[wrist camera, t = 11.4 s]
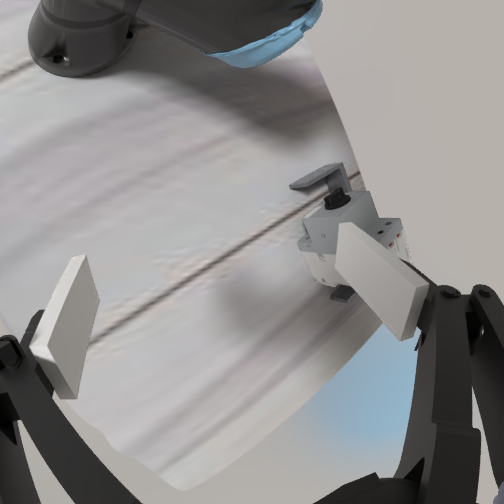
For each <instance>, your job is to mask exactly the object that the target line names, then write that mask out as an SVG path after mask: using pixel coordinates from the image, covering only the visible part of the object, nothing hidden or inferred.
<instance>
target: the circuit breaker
mask: <svg viewBox="0 0 504 504" xmlns="http://www.w3.org/2000/svg"><path fill="white" fill-rule="evenodd" d="M302 220H303V222H304V225H305V227H306V229H307V231H308V234H307V235H305V236H304V237H303V238H302V239H301V240H300V241H298V242H297V244H298V247H299V249H300V251H301V253H302V255H303V257H304V260H305V262H306V264H307V266H308V268H309V271H310V273H311V275H312V277H315V279H316V280H315V281H314V282H315V283H316V284H317V283H318V282H319V283H321V284H322V285H326V286H331V287H336V286H337V285H338V284H342V285H347V286H351V285H350V284H349V283H348V282H347V281H346V280H345V279H344V278H343V277H342V276H341V274H340V273H339V272H338V271H337V270H336V269H335V261H336V251H337V241H338V231H339V223H346V222H352V223H353V224H355V225H356V226H357V227H359V228H360V229H361V230H363V231H364V232H365V233H367V234H368V235H369V236H371V237H372V238H373V239H375V240H376V241H377V242H378V243H380V244H381V245H382V246H384V247H385V248H386V249H387V250H389V251H390V252H391V253H392V254H394V255H395V256H396V257H397V258H399V259H402V260H405V261H407V262H409V263H410V264H412V263H411V262H410V259H411V257H410V252H409V248H408V244H407V241H406V237H405V233H404V230H403V226H402V223H401V219H400V218H379V217H378V214H377V211H376V208H375V205H374V202H373V200H372V197H371V194H370V192H369V191H361V192H358V191H357V190H353V191H351V192H348V193H344V191H343V188H342V187H339V188H337V189H335V190H334V192H332V193H331V194H330V195H328V196H326V197H325V198H324V201H323V202H321V203H320V204H319V206H316V207H315V208H314V209H313V210H311V211H310V212H309V213H307V214H306V215H305V216H304V217H302ZM323 279H324V280H325V282H324V281H323Z"/></svg>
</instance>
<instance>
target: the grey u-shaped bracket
mask: <svg viewBox="0 0 504 504" xmlns="http://www.w3.org/2000/svg"><path fill="white" fill-rule="evenodd" d="M323 177H325V180H326V182H327V185H328V188H329V191H330V194H331V193H332V192H334V190H335V189H337V188H339V187H342V188H343V191H344V193H348V192H351V191H352V188H351V185H350V182H349V179H348V176H347V174H346V171H345V168H344V165H343V162H341V163H335V164H330V165H325V166H323V167H321V168H319V169H318V170H316V171H314V172H312V173H310V174H308V175H307V176H305V177H303V178H301V179H299V180H298V181H296V182H294V183H292V184H290V185H289V187H290V189H293V188H301V187H308V186H310V185H311V184H313V183H315V182H316V181H318V180H320V179H322V178H323ZM357 294H358V293H357V292H356V291H355V290H354V289H353V288H352V287H351V286H347V285H342V286H341V287H340V288H339V289H338V290H337V291H336V292H335V293H334V294H332V295H331V296H330V297H331V299H333V300H337V301H341V302H346V303H349V302H350V301H351V300H352V299H353V298H354V297H355V296H356V295H357Z"/></svg>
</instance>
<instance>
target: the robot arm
mask: <svg viewBox="0 0 504 504" xmlns="http://www.w3.org/2000/svg"><path fill="white" fill-rule="evenodd" d="M322 6H323V4H322V1H321V0H41V1H40V3H39V5H38V7H37V9H36V11H35V13H34V15H33V17H32V20H31V22H30V25H29V30H28V44H29V50H30V54H31V56H32V58H33V59H34V61H35V62H36V63H37V64H38V65H39V66H40V67H41V68H43V69H44V70H46V71H48V72H50V73H52V74H56V75H60V76H67V77H77V76H85V75H90V74H93V73H96V72H99V71H101V70H104V69H106V68H107V67H109V66H111V65H112V64H114V63H115V62H117V61H118V60H119V59H120V58H121V57H122V56H123V55H124V54H125V53H126V52H127V50H128V49H129V47H130V46H131V44H132V42H133V40H134V38H135V35H136V33H137V30H138V25H139V20H140V21H142V22H145V23H147V24H149V25H151V26H153V27H156V28H158V29H160V30H162V31H164V32H166V33H169V34H171V35H173V36H175V37H177V38H179V39H181V40H183V41H185V42H187V43H189V44H191V45H193V46H194V47H196V48H198V49H200V50H201V52H202V53H203V54H205V55H207V56H211V57H215V58H217V59H219V60H221V61H223V62H225V63H227V64H229V65H231V66H234V67H239V68H251V67H255V66H259V65H262V64H264V63H266V62H268V61H270V60H272V59H274V58H276V57H277V56H279V55H281V54H282V53H284V52H285V51H286V50H288V49H289V48H291V47H292V46H293V45H294V44H296V43H297V42H298V41H299V40H300V39H301V38H302V37H303V33H304V32H305V31H306V30H309V29H311V28H312V27H313V26H314V24H315V23H316V22H317V20H318V19H319V17H320V15H321V12H322ZM335 269H336V270H337V271H338V272H339V273H340V274H341V276H342V277H343V278H344V279H345V280H346V281H347V282H348V283H349V284H350V285H351V287H352V288H353V289H354V290H355V291H356V292H357V293H358V294H359V296H360V297H361V298H362V299H363V300H364V301H365V302H366V303H367V305H368V306H369V307H370V308H371V309H372V310H373V311H374V312H375V314H376V315H377V316H378V317H379V318H380V319H381V321H382V322H383V323H384V324H385V325H386V326H387V327H388V329H389V330H390V331H391V332H392V333H393V334H394V335H395V337H396V338H397V339H398V340H399V341H403V340H406V339H409V338H411V337H413V335H414V332H415V329H416V327H418V328H419V329H420V330H421V334H420V337H419V339H418V342H417V345H416V347H415V351H417V349H418V357H417V367H416V376H415V384H414V391H413V398H412V405H411V411H410V417H409V423H408V428H407V433H406V438H405V443H404V447H403V452H402V456H401V461H400V464H399V466H398V469H397V471H396V473H395V475H394V477H393V478H380V479H379V477H378V476H377V474H376V473H375V472H374V473H372V474H370V475H367V476H365V477H363V478H360V479H358V480H355V481H352V482H350V483H347V484H345V485H343V486H341V487H340V488H338V489H336V490H335V491H334V492H332V493H330V494H329V495H327V496H325V497H324V498H322V499H320V500H319V501H317V502H315V503H313V504H478V503H476V497H477V490H478V481H479V470H480V455H481V432H480V430H479V429H477V428H473V427H472V387H473V390H474V394H475V397H476V400H477V404H478V408H479V412H480V415H481V419H482V423H483V428H484V432H485V436H486V441H487V445H488V450H489V456H490V461H491V466H492V470H493V474H494V477H495V480H496V484H497V486H498V489H499V491H498V495H497V496H496V497H495V498H494V500H493V504H504V305H503V304H502V302H501V300H500V299H499V297H498V295H497V294H496V293H495V291H494V290H493V289H491V288H490V287H489V286H486V285H481V284H479V285H475V286H474V287H473V290H472V292H471V294H470V295H461V293H460V292H459V291H458V290H457V289H455V288H453V287H451V286H448V285H441V286H437V285H436V284H435V283H434V282H432V281H431V280H430V279H429V278H428V277H426V276H425V275H424V274H423V273H422V274H421V272H420V271H419V270H418V269H416V268H415V267H414V266H413V265H412V264H410V263H409V262H407V261H405V260H402V259H399V258H397V257H396V256H395V255H394V254H392V253H391V252H390V251H389V250H387V249H386V248H385V247H384V246H382V245H381V244H380V243H378V242H377V241H376V240H375V239H373V238H372V237H371V236H369V235H368V234H367V233H365V232H364V231H363V230H361V229H360V228H359V227H357V226H356V225H355V224H353V223H352V222H346V223H339V231H338V241H337V251H336V261H335ZM99 302H100V300H99V297H98V294H97V291H96V288H95V284H94V281H93V278H92V274H91V271H90V267H89V263H88V260H87V256H86V255H79V256H73V257H72V258H71V260H70V262H69V264H68V266H67V268H66V269H65V271H64V273H63V275H62V277H61V279H60V281H59V283H58V285H57V287H56V289H55V291H54V293H53V295H52V297H51V299H50V301H49V303H48V305H47V307H46V309H45V310H39V311H38V312H37V313H36V314H35V315H34V316H33V317H32V319H31V321H30V323H29V325H28V327H27V329H26V331H25V334H24V336H23V338H22V340H21V342H20V344H19V342H18V340H17V338H16V337H15V336H13V335H4V336H2V337H0V504H41V502H40V500H39V497H38V494H37V491H36V488H35V485H34V482H33V480H32V476H31V473H30V470H29V467H28V463H27V459H26V456H25V452H24V448H23V445H22V441H21V436H20V432H19V428H18V422H17V420H22V422H23V424H24V426H25V428H26V429H27V431H28V433H29V435H30V437H31V439H32V440H33V442H34V444H35V445H36V447H37V449H38V450H39V452H40V454H41V455H42V457H43V458H44V460H45V462H46V463H47V465H48V466H49V468H50V469H51V471H52V472H53V474H54V475H55V477H56V478H57V480H58V481H59V483H60V484H61V485H62V487H63V488H64V489H65V491H66V492H67V494H68V495H69V496H70V497H71V499H72V500H73V501H74V503H75V504H142V503H141V502H140V501H139V500H138V499H137V498H136V497H135V496H134V495H132V493H131V492H129V490H128V489H127V488H126V487H124V485H123V484H122V483H121V482H120V481H119V480H118V479H117V478H116V477H115V476H114V475H113V474H112V473H111V472H110V471H109V470H108V469H107V467H106V466H105V465H104V464H103V463H102V462H101V461H100V460H99V458H98V457H97V456H96V455H95V454H94V453H93V451H92V450H91V449H90V448H89V447H88V445H87V444H86V443H85V442H84V441H83V439H82V438H81V437H80V436H79V434H78V433H77V432H76V430H75V429H74V428H73V427H72V425H71V424H70V423H69V421H68V420H67V418H66V417H65V416H64V414H63V413H62V412H61V410H60V409H59V407H58V406H57V405H56V403H55V402H54V400H53V399H52V396H53V392H54V390H55V392H56V394H57V395H58V397H59V398H60V399H77V397H78V391H79V386H80V381H81V376H82V371H83V366H84V361H85V357H86V352H87V348H88V344H89V340H90V336H91V332H92V328H93V324H94V320H95V316H96V312H97V309H98V305H99ZM483 329H484V332H483V334H482V331H483Z"/></svg>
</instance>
